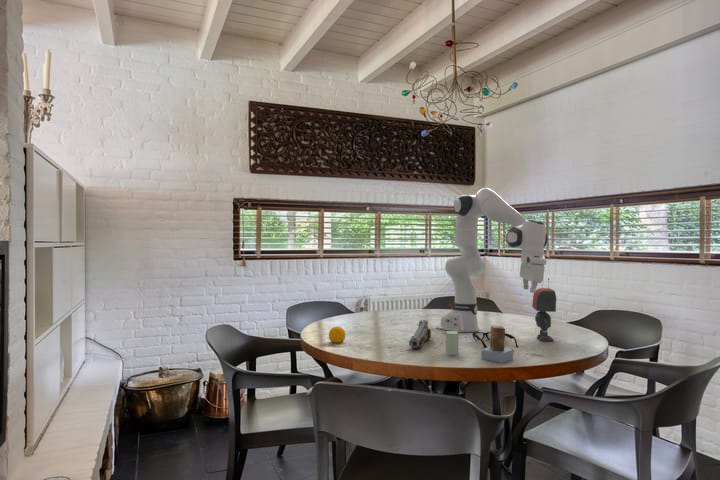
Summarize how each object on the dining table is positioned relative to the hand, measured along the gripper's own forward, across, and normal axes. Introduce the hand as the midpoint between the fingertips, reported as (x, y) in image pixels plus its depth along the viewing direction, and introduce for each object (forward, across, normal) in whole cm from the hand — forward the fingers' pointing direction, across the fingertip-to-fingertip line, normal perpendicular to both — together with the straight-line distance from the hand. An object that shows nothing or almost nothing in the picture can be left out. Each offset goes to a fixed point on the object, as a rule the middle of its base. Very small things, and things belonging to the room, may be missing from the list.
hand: (529, 291), depth 190 cm
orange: (+34, -14, -81) cm, 89 cm away
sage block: (+29, +3, -30) cm, 42 cm away
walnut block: (+24, +9, -13) cm, 29 cm away
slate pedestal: (+28, +9, -13) cm, 32 cm away
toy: (+31, -13, -42) cm, 54 cm away
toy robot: (+26, -26, +17) cm, 41 cm away
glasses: (+28, -16, -9) cm, 34 cm away
